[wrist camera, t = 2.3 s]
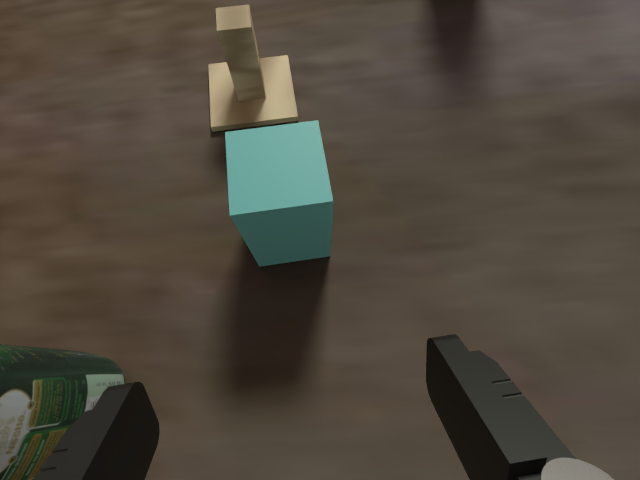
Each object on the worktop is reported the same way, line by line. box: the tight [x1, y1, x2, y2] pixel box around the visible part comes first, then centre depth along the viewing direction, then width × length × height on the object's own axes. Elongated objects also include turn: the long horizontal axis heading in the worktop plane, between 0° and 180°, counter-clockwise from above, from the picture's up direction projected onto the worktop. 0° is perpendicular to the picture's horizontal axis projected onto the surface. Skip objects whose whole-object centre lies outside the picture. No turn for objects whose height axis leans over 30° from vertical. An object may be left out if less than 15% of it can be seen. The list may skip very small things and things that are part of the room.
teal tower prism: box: [225, 120, 333, 267], centre depth 23 cm, size 6×6×9 cm
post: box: [209, 5, 298, 132], centre depth 29 cm, size 8×8×8 cm
